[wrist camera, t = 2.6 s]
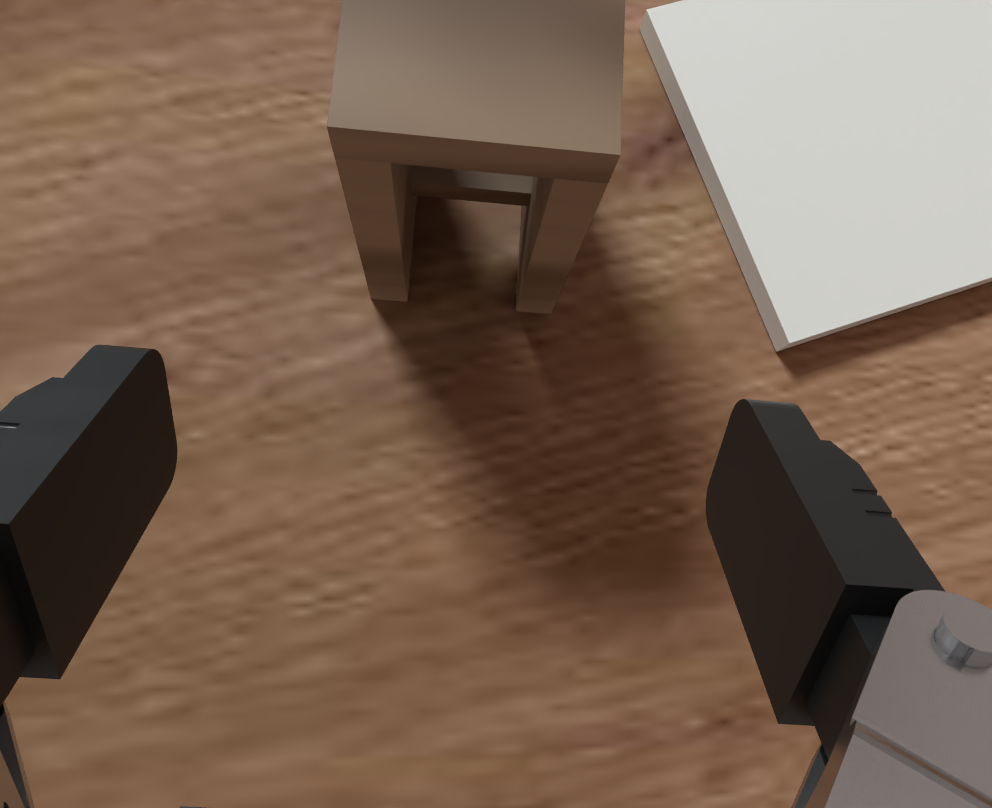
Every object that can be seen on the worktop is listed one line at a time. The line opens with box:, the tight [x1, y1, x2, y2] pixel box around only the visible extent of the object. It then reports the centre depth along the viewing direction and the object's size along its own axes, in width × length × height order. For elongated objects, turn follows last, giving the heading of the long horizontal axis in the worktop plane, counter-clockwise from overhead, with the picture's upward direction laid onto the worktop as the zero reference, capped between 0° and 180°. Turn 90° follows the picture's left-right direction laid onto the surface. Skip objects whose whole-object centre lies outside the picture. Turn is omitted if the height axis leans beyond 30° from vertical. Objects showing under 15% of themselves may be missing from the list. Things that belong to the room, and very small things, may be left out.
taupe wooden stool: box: [327, 0, 625, 314], centre depth 21 cm, size 6×6×10 cm
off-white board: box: [639, 0, 992, 352], centre depth 27 cm, size 13×13×1 cm
